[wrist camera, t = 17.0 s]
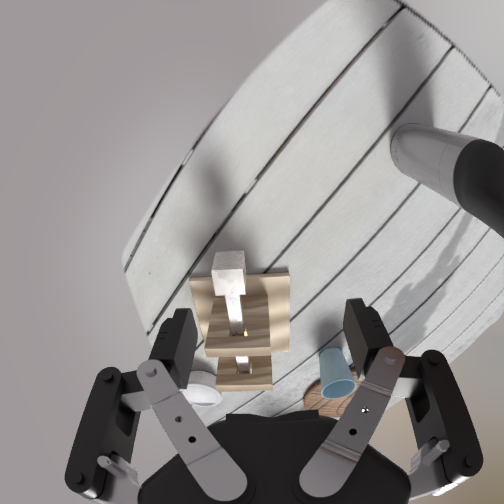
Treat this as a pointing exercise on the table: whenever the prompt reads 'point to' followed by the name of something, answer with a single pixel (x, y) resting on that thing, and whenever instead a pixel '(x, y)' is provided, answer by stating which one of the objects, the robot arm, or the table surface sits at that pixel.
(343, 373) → the cup
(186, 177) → the table surface
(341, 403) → the trivet
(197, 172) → the table surface
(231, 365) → the bracket
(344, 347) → the table surface
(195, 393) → the ramekin
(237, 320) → the shaft
